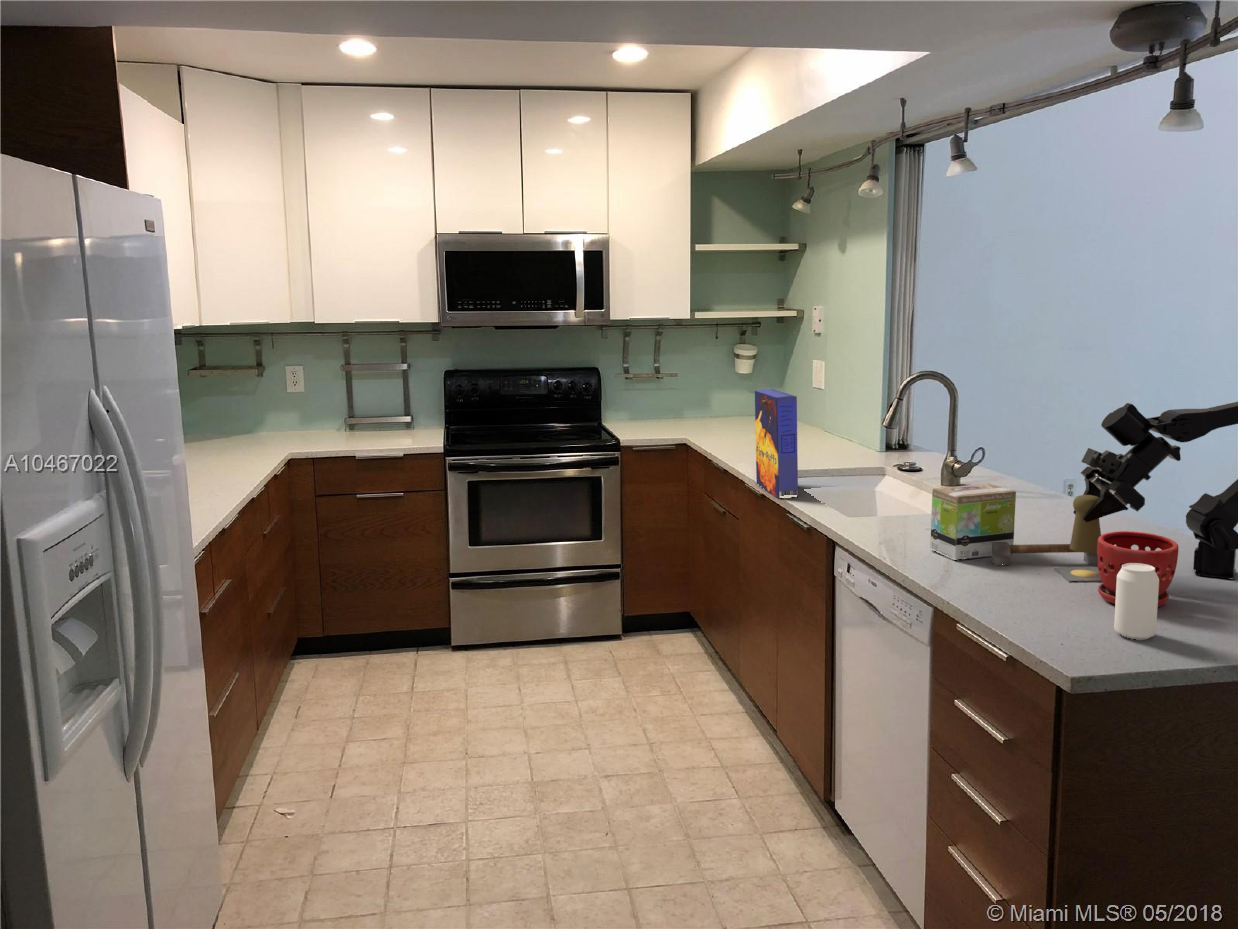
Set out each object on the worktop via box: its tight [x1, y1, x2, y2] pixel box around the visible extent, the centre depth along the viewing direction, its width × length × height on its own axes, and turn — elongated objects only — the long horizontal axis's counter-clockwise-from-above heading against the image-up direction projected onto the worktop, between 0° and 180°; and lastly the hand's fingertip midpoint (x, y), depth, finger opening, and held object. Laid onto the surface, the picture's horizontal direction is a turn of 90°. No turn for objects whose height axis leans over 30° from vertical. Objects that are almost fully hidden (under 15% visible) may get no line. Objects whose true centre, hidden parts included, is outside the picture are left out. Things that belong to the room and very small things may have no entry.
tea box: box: [929, 483, 1017, 560], centre depth 210 cm, size 15×10×15 cm, turn 105°
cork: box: [1069, 494, 1102, 553], centre depth 190 cm, size 6×6×11 cm
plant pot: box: [1097, 530, 1179, 608], centre depth 174 cm, size 13×13×12 cm
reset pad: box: [1053, 566, 1102, 583], centre depth 192 cm, size 9×9×1 cm
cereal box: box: [754, 388, 799, 500], centre depth 282 cm, size 22×6×30 cm, turn 8°
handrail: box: [991, 542, 1103, 566], centre depth 201 cm, size 22×3×4 cm, turn 83°
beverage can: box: [1113, 563, 1159, 641], centre depth 158 cm, size 6×6×12 cm
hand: (1079, 517), depth 190 cm, fingers closed on cork, 5 cm apart
